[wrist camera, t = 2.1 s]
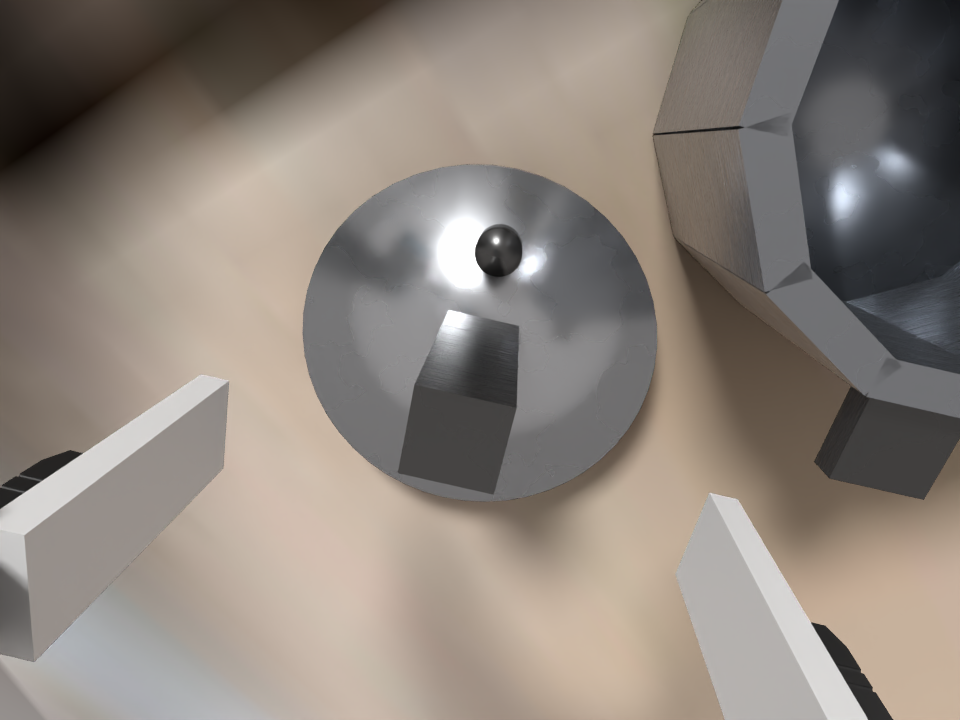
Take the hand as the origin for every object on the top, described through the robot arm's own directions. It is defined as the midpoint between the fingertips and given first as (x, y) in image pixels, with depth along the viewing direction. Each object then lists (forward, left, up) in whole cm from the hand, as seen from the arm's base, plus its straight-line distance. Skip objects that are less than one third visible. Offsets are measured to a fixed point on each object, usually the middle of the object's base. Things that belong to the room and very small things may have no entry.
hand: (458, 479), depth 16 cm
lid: (0, 0, -12) cm, 12 cm away
